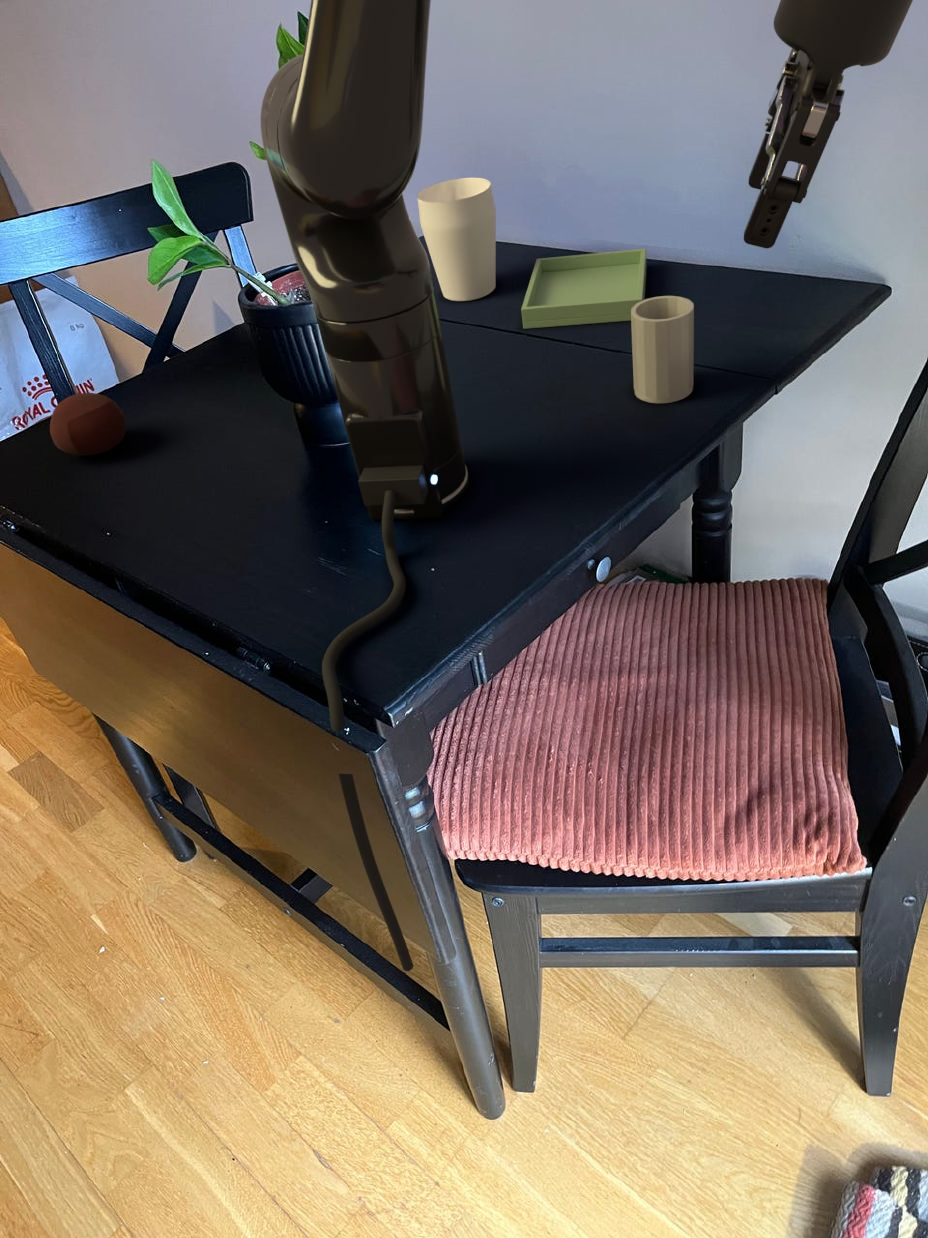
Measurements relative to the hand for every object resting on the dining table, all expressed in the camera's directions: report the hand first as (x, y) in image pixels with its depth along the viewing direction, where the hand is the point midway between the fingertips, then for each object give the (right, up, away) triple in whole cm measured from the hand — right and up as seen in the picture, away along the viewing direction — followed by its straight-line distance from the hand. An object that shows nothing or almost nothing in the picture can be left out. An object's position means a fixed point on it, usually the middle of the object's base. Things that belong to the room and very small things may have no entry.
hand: (758, 214), depth 68 cm
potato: (-60, -12, +29) cm, 68 cm away
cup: (-21, +11, +47) cm, 52 cm away
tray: (-7, +8, +40) cm, 41 cm away
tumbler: (-3, -8, +20) cm, 22 cm away
